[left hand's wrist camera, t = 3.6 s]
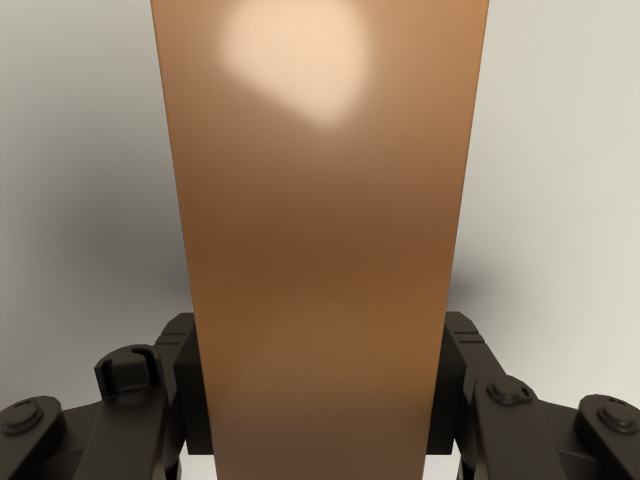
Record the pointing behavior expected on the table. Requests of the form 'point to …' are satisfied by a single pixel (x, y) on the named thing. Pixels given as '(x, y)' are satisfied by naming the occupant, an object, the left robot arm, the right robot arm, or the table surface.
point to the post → (319, 220)
